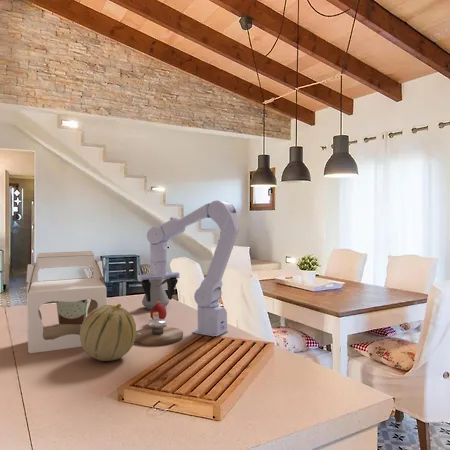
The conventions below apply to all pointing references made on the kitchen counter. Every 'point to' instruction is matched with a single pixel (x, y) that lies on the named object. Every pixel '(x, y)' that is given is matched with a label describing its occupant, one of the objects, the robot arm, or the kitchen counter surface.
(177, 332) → the base
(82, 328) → the cantaloupe
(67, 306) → the food container
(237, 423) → the kitchen counter surface
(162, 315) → the onion
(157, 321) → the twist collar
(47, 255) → the gable box
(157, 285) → the coffee pot
